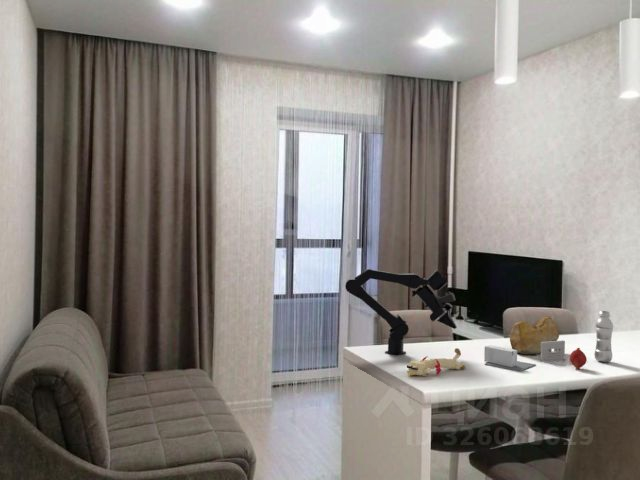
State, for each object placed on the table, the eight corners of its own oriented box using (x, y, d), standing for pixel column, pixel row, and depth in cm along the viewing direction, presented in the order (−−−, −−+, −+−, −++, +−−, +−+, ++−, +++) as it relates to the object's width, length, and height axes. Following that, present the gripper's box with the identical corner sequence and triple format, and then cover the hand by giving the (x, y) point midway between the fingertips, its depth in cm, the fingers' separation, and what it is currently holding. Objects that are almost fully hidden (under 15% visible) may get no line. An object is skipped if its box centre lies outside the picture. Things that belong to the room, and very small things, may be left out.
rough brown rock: (534, 347, 256) (532, 314, 256) (565, 351, 241) (562, 316, 242) (496, 353, 245) (494, 318, 246) (526, 357, 230) (523, 320, 231)
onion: (566, 366, 215) (566, 345, 215) (580, 366, 215) (581, 345, 215) (574, 370, 209) (575, 349, 209) (589, 370, 210) (589, 349, 209)
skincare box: (490, 359, 222) (517, 366, 213) (483, 361, 219) (511, 368, 210) (490, 344, 222) (518, 350, 213) (483, 345, 219) (511, 351, 210)
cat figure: (449, 369, 213) (398, 371, 200) (450, 346, 214) (400, 346, 200) (469, 375, 205) (418, 378, 191) (471, 351, 205) (420, 352, 191)
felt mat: (520, 371, 206) (520, 370, 206) (484, 364, 215) (484, 363, 215) (535, 365, 216) (535, 364, 216) (501, 359, 226) (501, 358, 226)
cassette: (561, 359, 229) (562, 340, 229) (565, 360, 227) (566, 341, 227) (539, 361, 224) (539, 341, 224) (542, 362, 222) (543, 342, 222)
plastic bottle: (610, 360, 227) (612, 311, 227) (613, 364, 220) (615, 313, 220) (593, 359, 229) (594, 310, 229) (595, 362, 223) (596, 312, 222)
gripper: (439, 287, 220) (467, 318, 216) (448, 283, 237) (474, 312, 233) (418, 306, 223) (445, 336, 219) (429, 301, 240) (454, 329, 236)
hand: (455, 328), depth 227 cm, fingers closed
